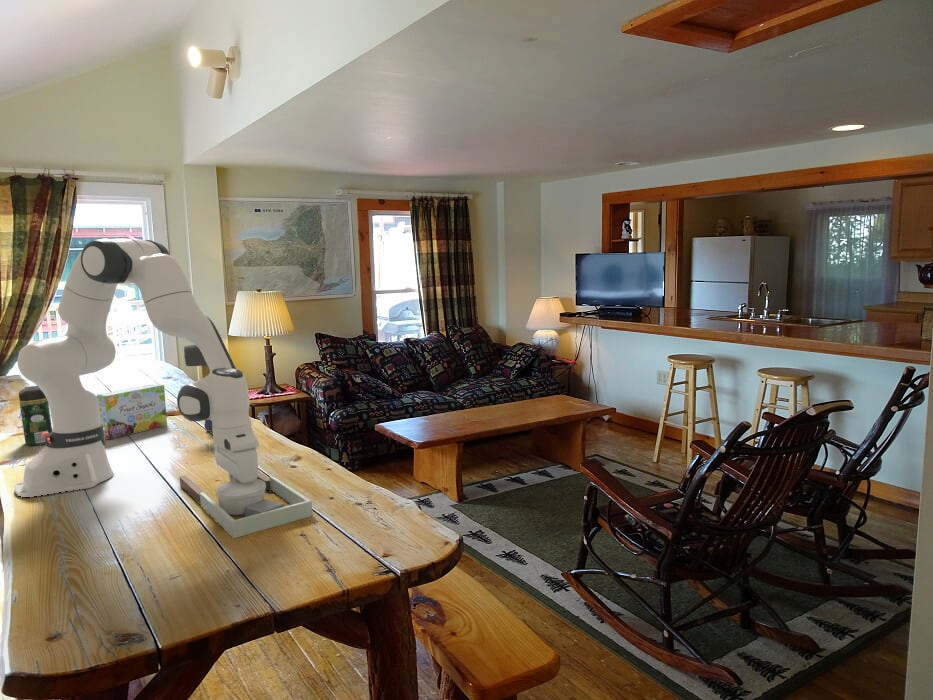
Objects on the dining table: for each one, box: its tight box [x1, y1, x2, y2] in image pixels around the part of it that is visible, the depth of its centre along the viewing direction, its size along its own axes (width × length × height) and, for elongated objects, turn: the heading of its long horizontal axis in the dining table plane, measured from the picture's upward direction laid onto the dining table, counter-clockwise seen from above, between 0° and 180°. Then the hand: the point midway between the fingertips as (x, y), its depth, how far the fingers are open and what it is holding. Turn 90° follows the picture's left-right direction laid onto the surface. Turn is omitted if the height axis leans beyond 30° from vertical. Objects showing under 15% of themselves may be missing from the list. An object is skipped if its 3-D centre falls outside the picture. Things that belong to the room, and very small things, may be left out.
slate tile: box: [244, 498, 285, 517], centre depth 149 cm, size 6×6×2 cm
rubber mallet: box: [183, 344, 213, 432], centre depth 223 cm, size 12×8×30 cm, turn 117°
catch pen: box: [200, 475, 313, 539], centre depth 151 cm, size 18×23×4 cm
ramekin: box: [215, 479, 266, 516], centre depth 153 cm, size 11×11×5 cm
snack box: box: [96, 383, 168, 440], centre depth 226 cm, size 21×6×15 cm, turn 148°
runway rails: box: [179, 470, 271, 505], centre depth 168 cm, size 17×19×2 cm
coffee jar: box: [18, 385, 53, 446], centre depth 216 cm, size 10×8×19 cm
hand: (237, 490), depth 161 cm, fingers closed
